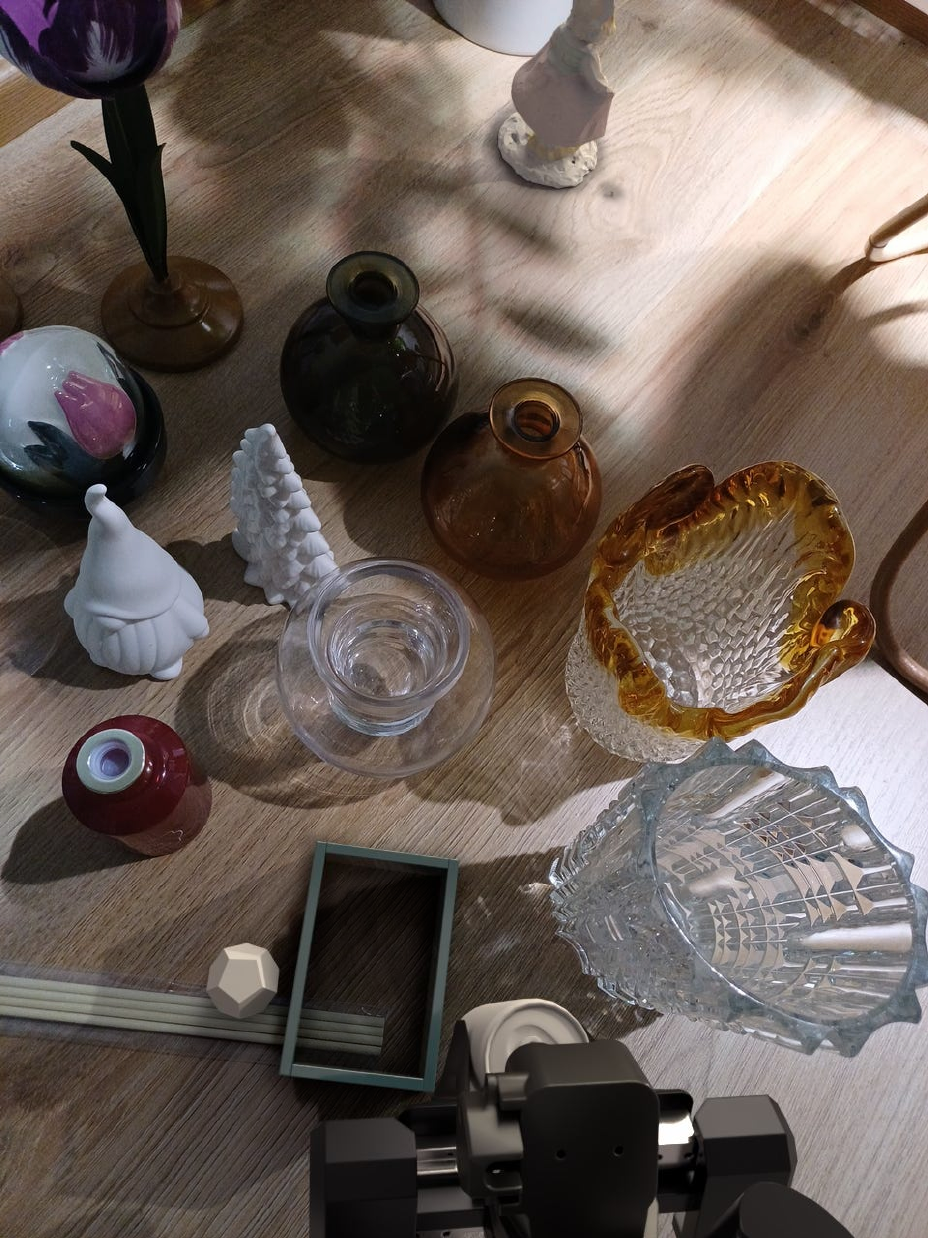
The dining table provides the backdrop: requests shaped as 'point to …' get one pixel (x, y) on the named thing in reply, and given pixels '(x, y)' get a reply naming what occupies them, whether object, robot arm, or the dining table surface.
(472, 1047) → the beverage can
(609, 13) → the figurine
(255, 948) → the polyhedron
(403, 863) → the bottomless rectangular frame
